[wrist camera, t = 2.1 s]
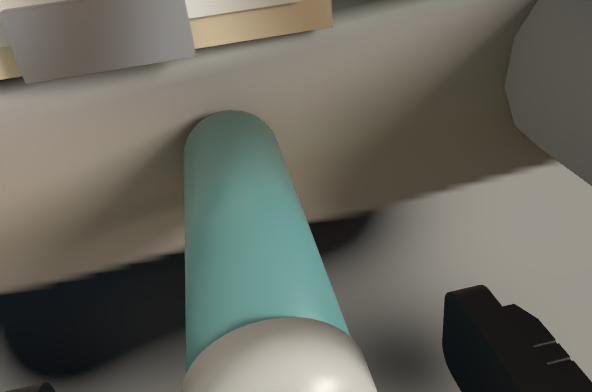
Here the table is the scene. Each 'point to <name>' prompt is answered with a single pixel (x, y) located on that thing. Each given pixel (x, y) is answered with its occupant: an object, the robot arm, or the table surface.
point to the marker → (256, 272)
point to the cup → (555, 81)
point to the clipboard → (136, 31)
